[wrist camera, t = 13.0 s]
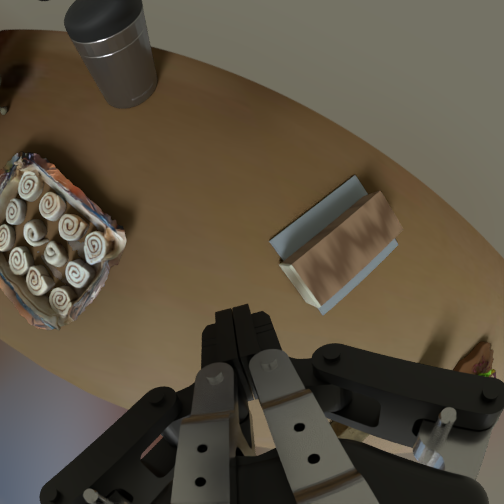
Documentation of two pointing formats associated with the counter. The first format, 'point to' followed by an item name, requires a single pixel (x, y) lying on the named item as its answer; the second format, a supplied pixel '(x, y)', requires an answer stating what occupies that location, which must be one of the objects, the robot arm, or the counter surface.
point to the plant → (478, 361)
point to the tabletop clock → (4, 109)
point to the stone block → (348, 432)
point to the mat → (317, 222)
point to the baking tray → (53, 244)
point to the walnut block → (342, 249)
